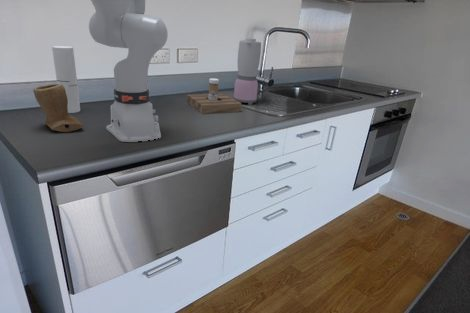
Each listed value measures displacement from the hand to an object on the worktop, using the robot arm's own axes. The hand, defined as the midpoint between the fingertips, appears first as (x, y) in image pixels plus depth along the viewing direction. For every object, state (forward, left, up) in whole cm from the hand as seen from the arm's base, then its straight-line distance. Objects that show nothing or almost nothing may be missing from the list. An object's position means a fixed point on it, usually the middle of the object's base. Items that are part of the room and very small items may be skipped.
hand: (135, 26), depth 132 cm
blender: (0, -56, -34) cm, 66 cm away
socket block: (-8, -34, -34) cm, 49 cm away
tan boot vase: (-24, +32, -34) cm, 53 cm away
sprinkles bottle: (-8, -34, -34) cm, 49 cm away
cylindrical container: (-3, +28, -34) cm, 44 cm away
